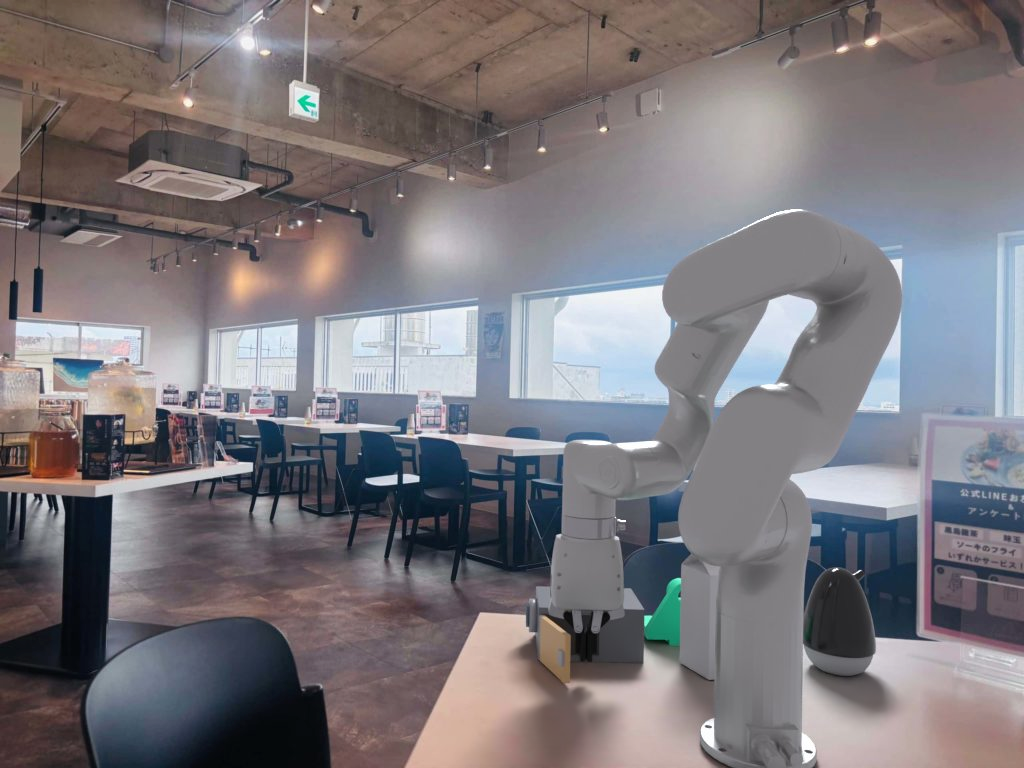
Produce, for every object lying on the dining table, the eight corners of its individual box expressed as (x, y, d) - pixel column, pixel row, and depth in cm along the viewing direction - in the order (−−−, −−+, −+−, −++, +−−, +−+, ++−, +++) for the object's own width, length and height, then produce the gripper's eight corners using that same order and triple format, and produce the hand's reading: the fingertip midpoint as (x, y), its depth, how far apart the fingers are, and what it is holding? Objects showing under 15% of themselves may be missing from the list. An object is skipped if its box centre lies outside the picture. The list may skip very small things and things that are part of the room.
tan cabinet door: (561, 683, 97) (562, 636, 97) (535, 658, 106) (535, 615, 106) (570, 682, 97) (571, 635, 97) (543, 658, 106) (544, 614, 106)
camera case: (643, 663, 106) (644, 605, 106) (526, 660, 106) (527, 602, 106) (630, 636, 118) (630, 584, 119) (524, 633, 118) (526, 581, 119)
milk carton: (749, 675, 102) (750, 544, 103) (708, 681, 100) (710, 547, 100) (717, 658, 109) (719, 535, 109) (679, 663, 106) (681, 537, 107)
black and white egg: (892, 676, 103) (893, 572, 103) (842, 687, 99) (843, 578, 99) (833, 653, 112) (835, 557, 113) (785, 662, 108) (787, 562, 108)
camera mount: (705, 631, 122) (706, 572, 123) (720, 647, 115) (721, 583, 115) (637, 630, 122) (638, 571, 122) (647, 646, 114) (648, 582, 115)
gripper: (636, 524, 103) (633, 650, 103) (534, 521, 103) (531, 647, 103) (646, 534, 96) (643, 670, 95) (536, 531, 96) (533, 667, 95)
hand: (585, 658), depth 99 cm, fingers closed
